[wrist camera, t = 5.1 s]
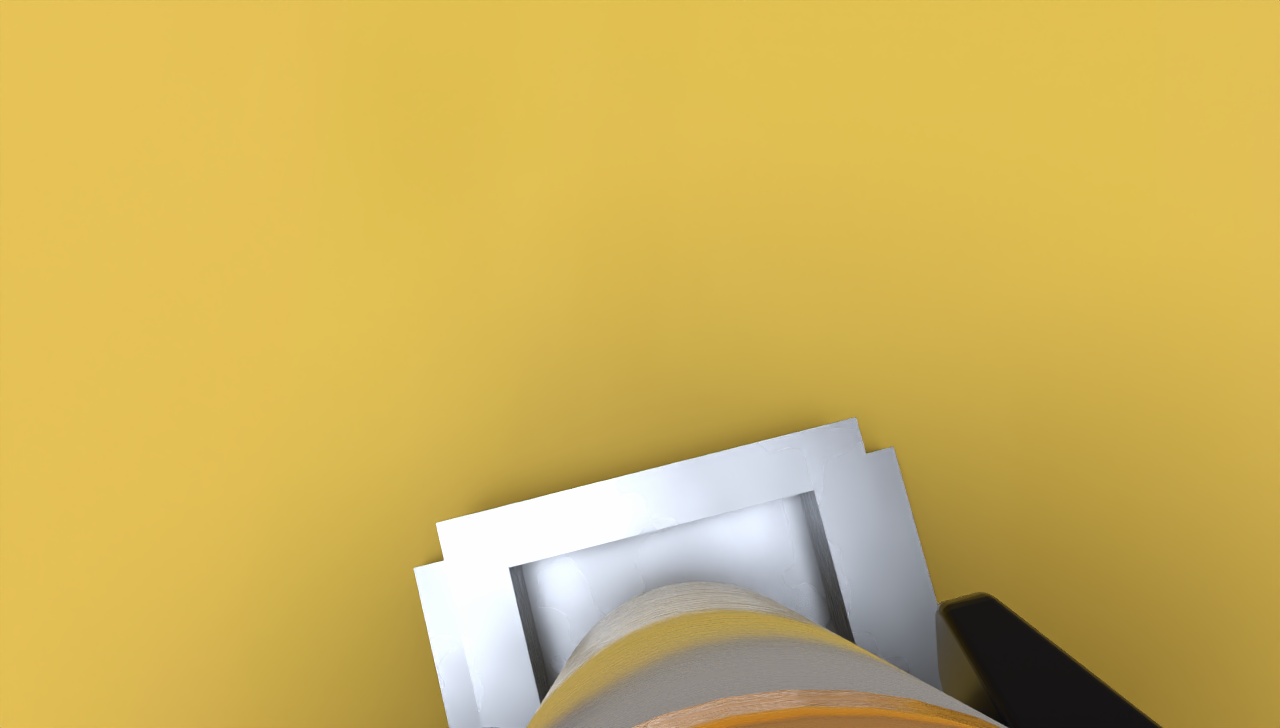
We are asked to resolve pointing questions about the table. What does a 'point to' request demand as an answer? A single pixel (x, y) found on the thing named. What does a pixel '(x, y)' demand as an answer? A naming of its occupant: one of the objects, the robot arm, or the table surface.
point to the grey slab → (678, 563)
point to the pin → (734, 671)
